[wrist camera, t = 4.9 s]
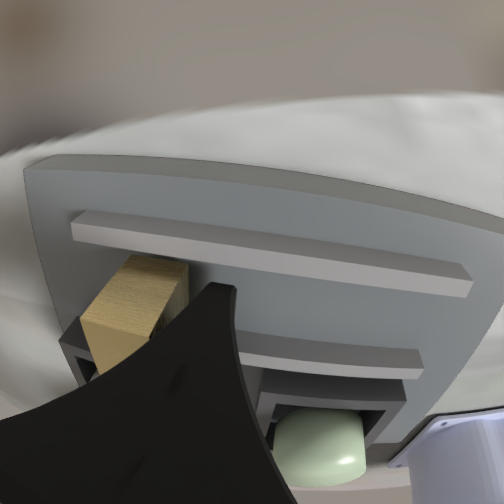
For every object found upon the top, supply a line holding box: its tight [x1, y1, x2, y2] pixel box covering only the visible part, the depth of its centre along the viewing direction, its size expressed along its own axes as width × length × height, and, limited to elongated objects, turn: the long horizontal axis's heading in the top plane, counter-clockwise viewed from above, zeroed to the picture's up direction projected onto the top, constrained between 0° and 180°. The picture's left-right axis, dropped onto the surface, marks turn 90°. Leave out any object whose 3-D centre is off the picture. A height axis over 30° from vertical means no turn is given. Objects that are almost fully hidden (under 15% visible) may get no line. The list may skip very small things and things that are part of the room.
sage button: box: [272, 407, 366, 487], centre depth 10 cm, size 4×4×2 cm
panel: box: [23, 155, 504, 455], centre depth 11 cm, size 18×13×4 cm
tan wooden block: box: [80, 254, 189, 375], centre depth 8 cm, size 2×2×3 cm
